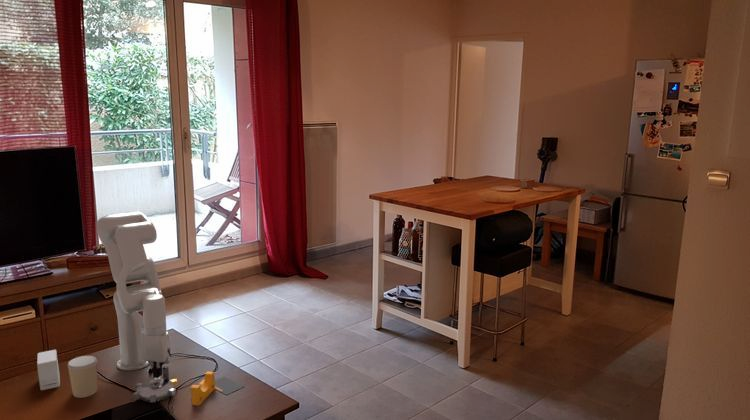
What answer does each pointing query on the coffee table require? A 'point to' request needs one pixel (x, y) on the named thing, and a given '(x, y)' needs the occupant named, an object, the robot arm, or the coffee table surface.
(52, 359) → the skincare box
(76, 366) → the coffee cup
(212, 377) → the pipe clamp
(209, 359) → the coffee table surface
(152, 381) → the sprocket
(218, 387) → the mat
